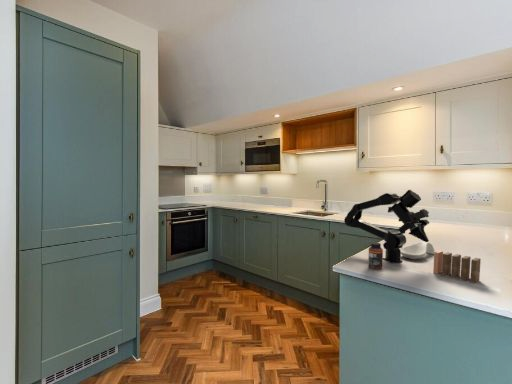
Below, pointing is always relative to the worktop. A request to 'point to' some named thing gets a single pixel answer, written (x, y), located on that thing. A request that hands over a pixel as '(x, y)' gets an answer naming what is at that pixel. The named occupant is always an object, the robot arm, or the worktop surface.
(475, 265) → the walnut domino
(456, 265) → the walnut domino
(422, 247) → the spoon rest
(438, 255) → the terracotta domino
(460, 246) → the worktop surface
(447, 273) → the walnut domino
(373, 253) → the supplement bottle
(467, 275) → the walnut domino
